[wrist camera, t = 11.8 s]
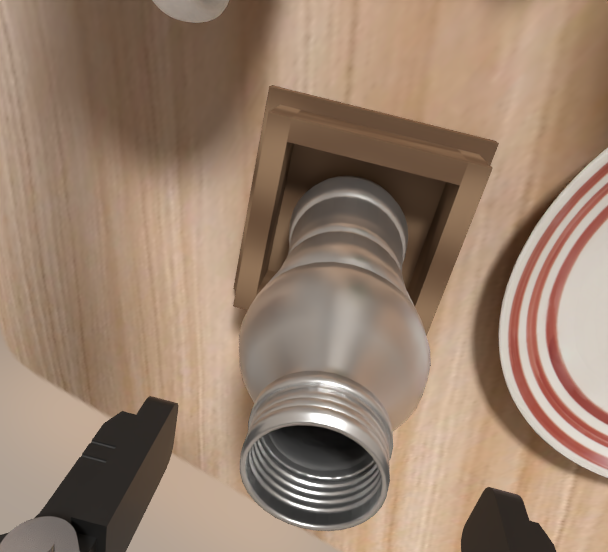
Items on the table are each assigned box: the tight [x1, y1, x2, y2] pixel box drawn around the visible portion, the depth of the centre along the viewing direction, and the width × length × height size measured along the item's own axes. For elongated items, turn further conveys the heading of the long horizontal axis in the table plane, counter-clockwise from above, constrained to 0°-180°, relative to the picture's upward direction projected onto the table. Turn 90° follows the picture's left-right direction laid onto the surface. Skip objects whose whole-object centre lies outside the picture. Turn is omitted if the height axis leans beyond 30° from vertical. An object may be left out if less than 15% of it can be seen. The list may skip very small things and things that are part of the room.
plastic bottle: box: [239, 175, 431, 531], centre depth 21 cm, size 6×7×20 cm
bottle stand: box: [233, 85, 499, 336], centre depth 29 cm, size 13×13×4 cm
